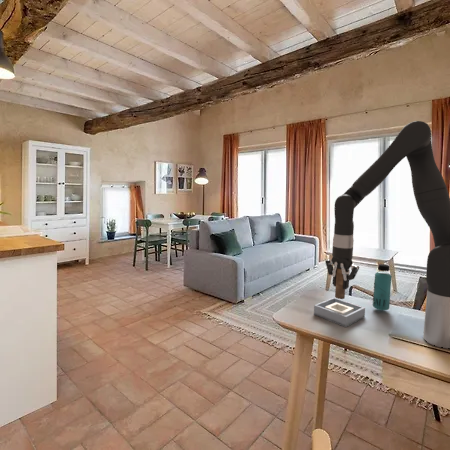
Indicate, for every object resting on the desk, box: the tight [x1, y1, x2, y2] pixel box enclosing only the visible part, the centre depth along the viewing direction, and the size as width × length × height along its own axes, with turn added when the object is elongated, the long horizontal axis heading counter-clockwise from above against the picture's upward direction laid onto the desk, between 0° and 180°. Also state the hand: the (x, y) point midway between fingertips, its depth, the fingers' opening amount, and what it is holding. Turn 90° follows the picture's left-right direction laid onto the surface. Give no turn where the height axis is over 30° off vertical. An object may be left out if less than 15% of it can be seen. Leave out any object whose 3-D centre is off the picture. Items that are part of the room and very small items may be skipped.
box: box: [313, 296, 366, 328], centre depth 119 cm, size 14×14×4 cm
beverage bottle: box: [372, 263, 393, 311], centre depth 123 cm, size 6×7×20 cm
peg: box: [334, 268, 346, 300], centre depth 118 cm, size 4×4×12 cm
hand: (340, 287), depth 118 cm, fingers closed on peg, 3 cm apart
